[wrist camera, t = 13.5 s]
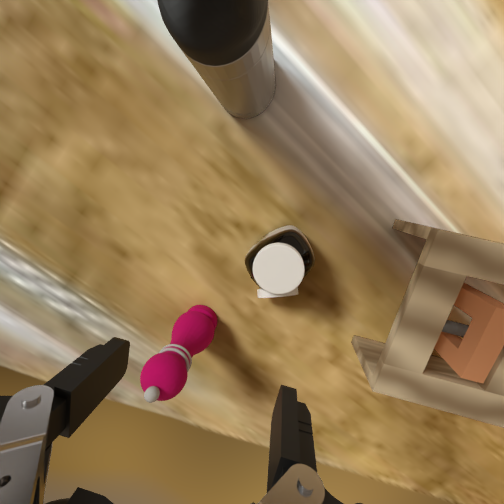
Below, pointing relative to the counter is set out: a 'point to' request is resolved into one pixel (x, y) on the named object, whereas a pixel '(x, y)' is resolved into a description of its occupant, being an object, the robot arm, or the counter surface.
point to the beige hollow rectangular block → (436, 329)
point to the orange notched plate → (474, 336)
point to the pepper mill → (178, 354)
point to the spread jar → (280, 262)
